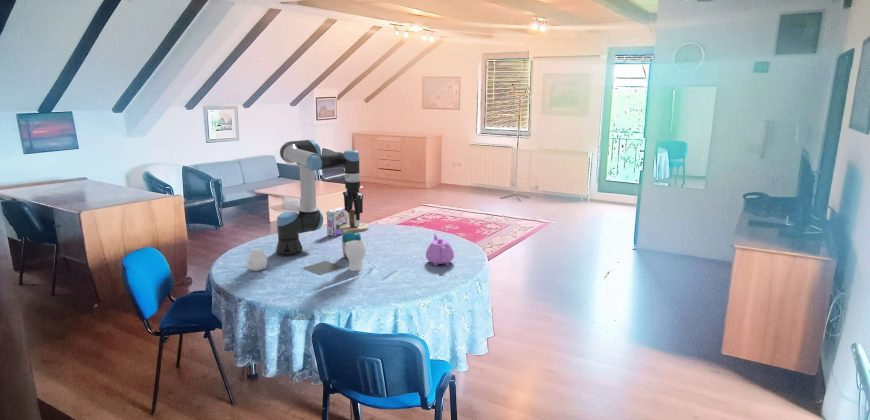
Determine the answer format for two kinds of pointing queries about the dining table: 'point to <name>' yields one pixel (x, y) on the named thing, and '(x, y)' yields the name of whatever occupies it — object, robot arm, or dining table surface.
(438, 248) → the teapot
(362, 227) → the lid
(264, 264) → the figurine
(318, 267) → the mat
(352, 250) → the cup
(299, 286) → the dining table surface
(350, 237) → the vase
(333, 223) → the candy box
